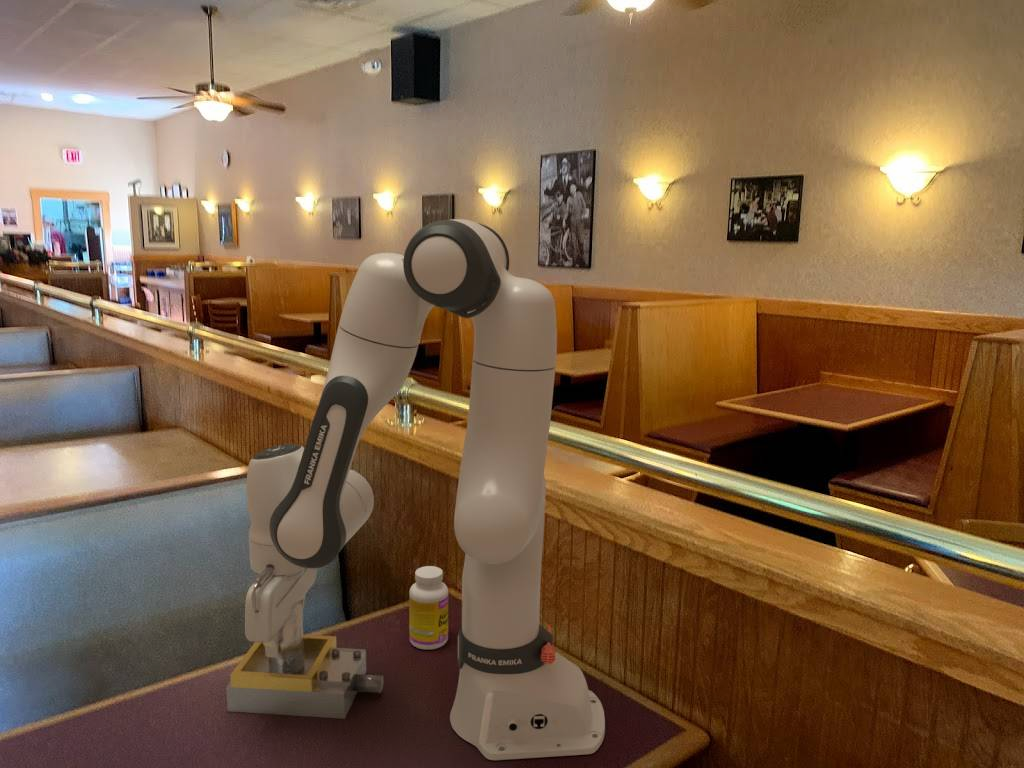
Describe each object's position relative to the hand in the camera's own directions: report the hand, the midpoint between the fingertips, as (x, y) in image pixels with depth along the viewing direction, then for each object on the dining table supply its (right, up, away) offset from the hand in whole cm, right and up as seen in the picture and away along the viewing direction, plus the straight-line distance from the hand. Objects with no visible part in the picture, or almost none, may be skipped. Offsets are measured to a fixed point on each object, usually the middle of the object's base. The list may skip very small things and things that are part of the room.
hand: (285, 637), depth 117 cm
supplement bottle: (+20, -6, +17) cm, 27 cm away
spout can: (-1, -5, +1) cm, 5 cm away
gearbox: (+4, -9, +1) cm, 10 cm away
